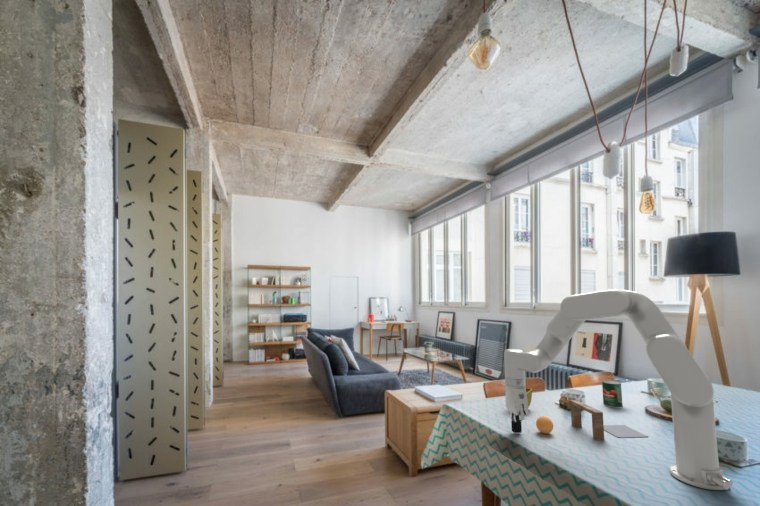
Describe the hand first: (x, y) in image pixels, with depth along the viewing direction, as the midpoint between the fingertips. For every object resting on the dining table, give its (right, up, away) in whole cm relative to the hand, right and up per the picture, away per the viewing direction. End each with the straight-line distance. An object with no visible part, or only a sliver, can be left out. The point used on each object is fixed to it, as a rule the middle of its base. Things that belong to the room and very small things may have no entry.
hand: (516, 431), depth 136 cm
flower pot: (+13, -4, +29) cm, 32 cm away
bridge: (+28, -1, +2) cm, 28 cm away
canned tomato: (+60, -6, +36) cm, 71 cm away
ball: (+11, +2, +1) cm, 11 cm away
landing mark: (+42, -1, +3) cm, 42 cm away
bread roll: (+38, -5, +33) cm, 51 cm away
